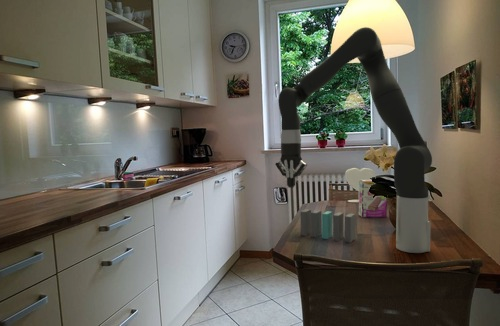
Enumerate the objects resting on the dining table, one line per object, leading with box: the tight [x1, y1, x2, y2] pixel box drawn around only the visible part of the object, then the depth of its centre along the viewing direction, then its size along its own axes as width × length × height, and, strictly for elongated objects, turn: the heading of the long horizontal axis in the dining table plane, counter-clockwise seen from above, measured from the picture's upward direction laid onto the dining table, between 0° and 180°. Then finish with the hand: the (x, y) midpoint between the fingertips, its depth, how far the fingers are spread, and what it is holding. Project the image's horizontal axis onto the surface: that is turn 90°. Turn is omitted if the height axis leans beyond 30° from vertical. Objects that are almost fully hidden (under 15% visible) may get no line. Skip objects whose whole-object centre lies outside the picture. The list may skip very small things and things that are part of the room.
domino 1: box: [300, 208, 312, 237], centre depth 136 cm, size 2×5×9 cm, turn 146°
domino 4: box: [332, 211, 345, 242], centre depth 129 cm, size 2×5×9 cm, turn 146°
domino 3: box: [321, 210, 333, 240], centre depth 131 cm, size 2×5×9 cm, turn 147°
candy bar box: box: [358, 180, 388, 219], centre depth 160 cm, size 11×5×16 cm, turn 92°
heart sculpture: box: [344, 167, 377, 203], centre depth 196 cm, size 16×5×18 cm, turn 78°
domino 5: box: [344, 213, 356, 243], centre depth 127 cm, size 2×5×9 cm, turn 147°
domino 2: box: [310, 209, 323, 238], centre depth 134 cm, size 2×5×9 cm, turn 147°
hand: (291, 187), depth 138 cm, fingers closed
